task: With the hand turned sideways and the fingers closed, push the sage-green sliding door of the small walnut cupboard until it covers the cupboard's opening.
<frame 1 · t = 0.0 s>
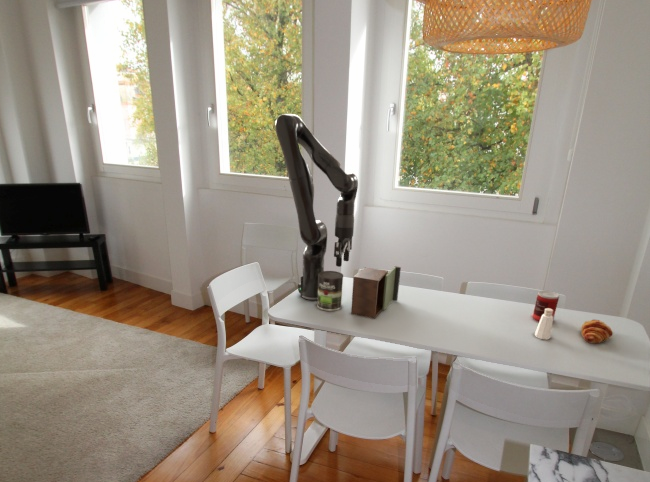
hand: (342, 263, 195), 17 cm above the table, tool pointing down, fingers open, 8 cm apart
croissant: (594, 337, 175), on the table
coffee can: (329, 306, 197), on the table
sliding door: (391, 288, 196), point 8 cm above the table, slide at 9.0 cm
canned food: (542, 319, 190), on the table
closet: (368, 310, 194), on the table
pepper shaker: (542, 337, 175), on the table
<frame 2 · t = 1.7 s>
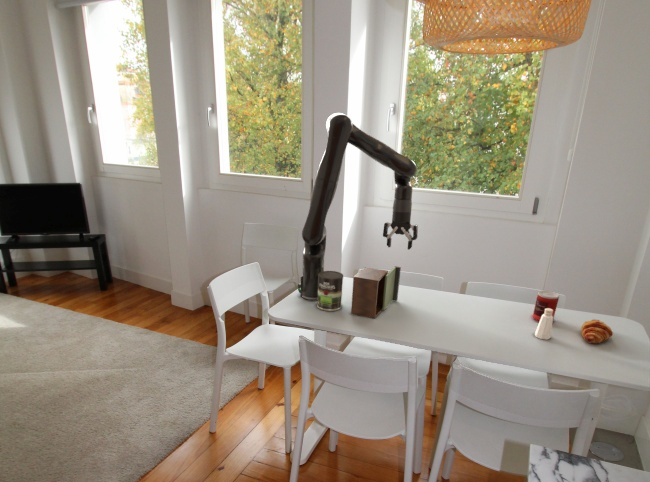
hand: (399, 248, 200), 22 cm above the table, tool pointing down, fingers open, 8 cm apart
nothing on the table moved.
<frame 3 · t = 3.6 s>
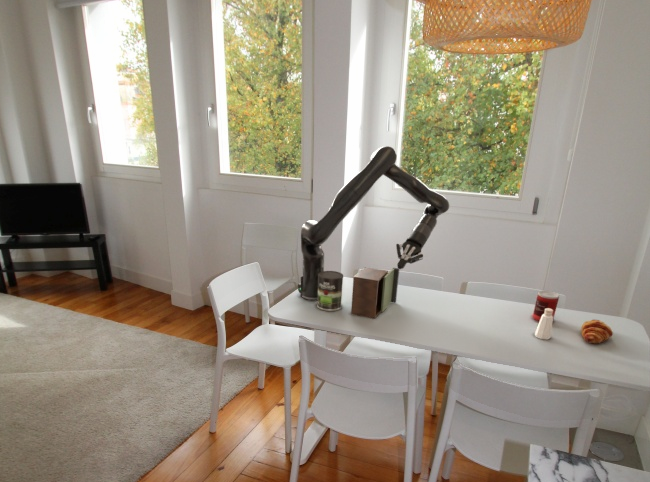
hand: (399, 267, 194), 16 cm above the table, tool tilted 50°, fingers closed
sliding door: (390, 290, 194), point 8 cm above the table, slide at 6.7 cm
everything else where it was.
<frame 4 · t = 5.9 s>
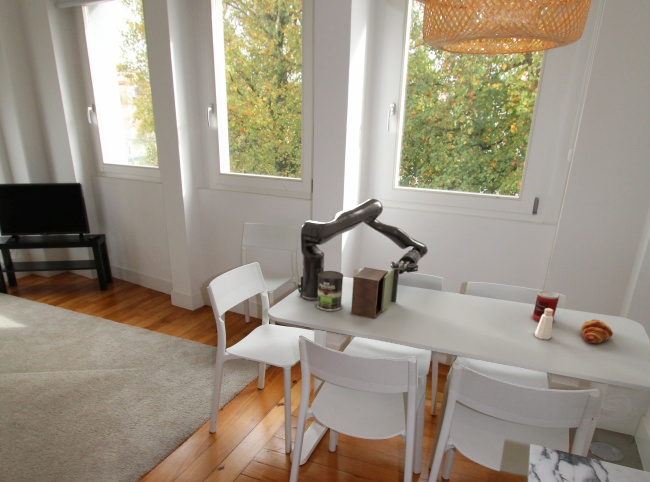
hand: (399, 271, 203), 12 cm above the table, tool horizontal, fingers closed
nothing on the table moved.
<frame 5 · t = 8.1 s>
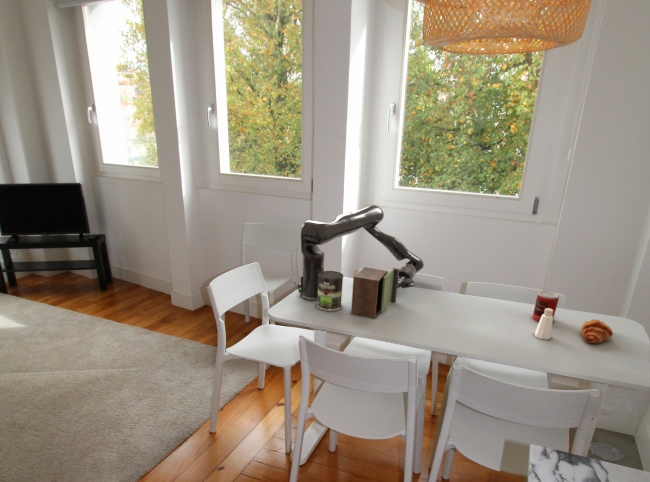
hand: (394, 287, 200), 7 cm above the table, tool horizontal, fingers closed
sliding door: (389, 290, 193), point 8 cm above the table, slide at 6.3 cm, touching gripper
everything else where it was.
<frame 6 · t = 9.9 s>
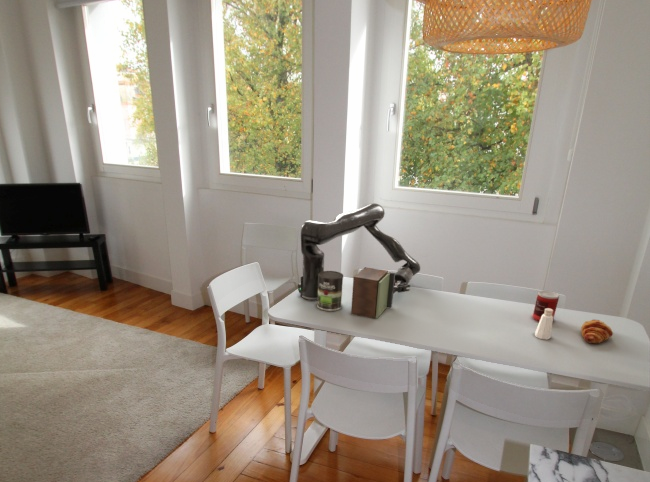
hand: (390, 292, 194), 7 cm above the table, tool horizontal, fingers closed
sliding door: (385, 295, 188), point 8 cm above the table, slide at -0.1 cm, touching gripper
everything else where it was.
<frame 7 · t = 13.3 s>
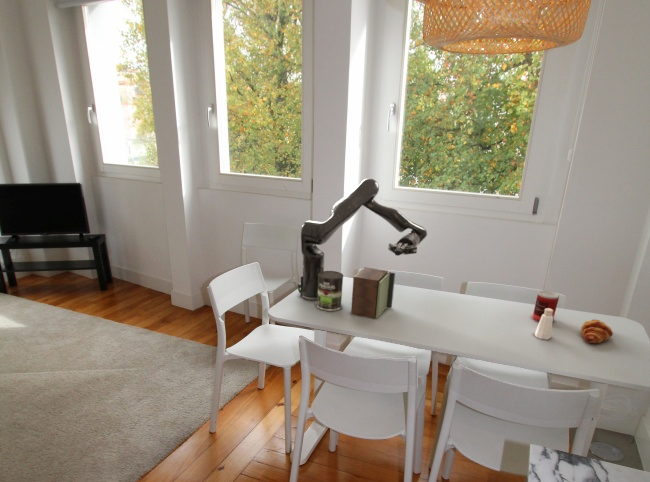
hand: (397, 253, 192), 22 cm above the table, tool horizontal, fingers closed
sliding door: (385, 295, 188), point 8 cm above the table, slide at 0.0 cm
everything else where it was.
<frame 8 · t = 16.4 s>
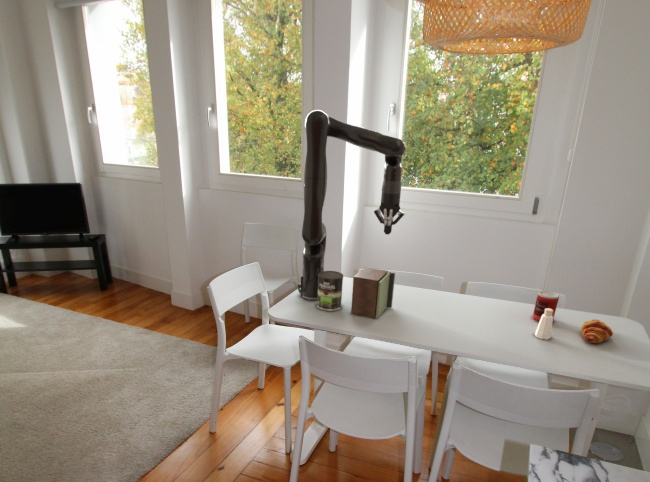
hand: (387, 234, 195), 29 cm above the table, tool pointing down, fingers closed
nothing on the table moved.
at the end: sliding door slide at 0.0 cm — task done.
